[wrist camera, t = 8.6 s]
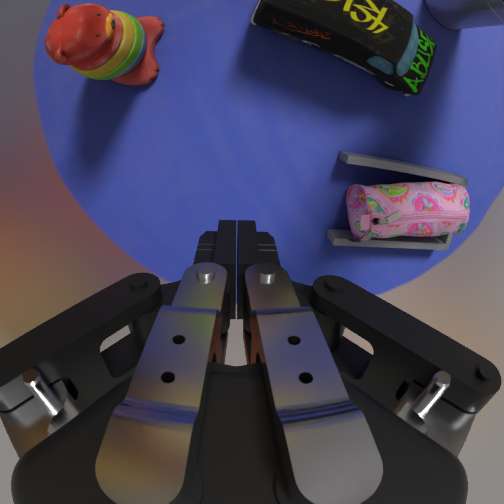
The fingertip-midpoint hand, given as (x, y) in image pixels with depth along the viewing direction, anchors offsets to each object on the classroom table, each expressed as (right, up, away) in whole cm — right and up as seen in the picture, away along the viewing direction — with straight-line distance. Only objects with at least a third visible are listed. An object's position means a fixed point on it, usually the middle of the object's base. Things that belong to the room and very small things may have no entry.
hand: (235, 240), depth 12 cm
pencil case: (+25, +8, +31) cm, 41 cm away
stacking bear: (-17, +28, +18) cm, 37 cm away
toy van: (+14, +31, +18) cm, 38 cm away
